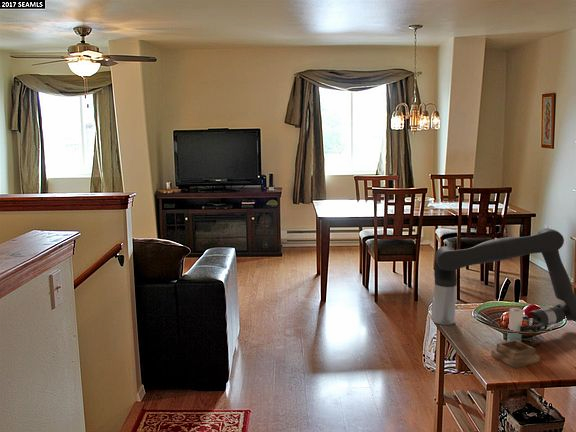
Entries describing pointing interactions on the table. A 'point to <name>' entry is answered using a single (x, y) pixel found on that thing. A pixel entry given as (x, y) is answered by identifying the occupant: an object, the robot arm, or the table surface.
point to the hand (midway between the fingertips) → (512, 325)
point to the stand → (515, 353)
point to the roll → (515, 323)
